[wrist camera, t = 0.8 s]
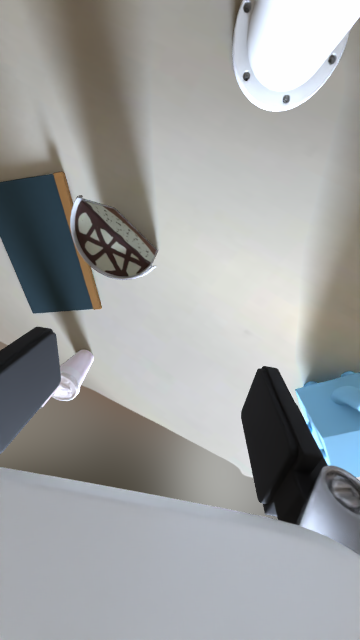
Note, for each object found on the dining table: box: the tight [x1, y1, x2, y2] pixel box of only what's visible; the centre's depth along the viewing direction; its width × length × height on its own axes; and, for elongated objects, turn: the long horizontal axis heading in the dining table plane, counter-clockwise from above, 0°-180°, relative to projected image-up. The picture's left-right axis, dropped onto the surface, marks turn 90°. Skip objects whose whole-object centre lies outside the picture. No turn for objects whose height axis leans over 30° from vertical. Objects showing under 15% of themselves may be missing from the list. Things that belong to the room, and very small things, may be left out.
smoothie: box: [40, 350, 94, 408], centre depth 41 cm, size 6×6×14 cm
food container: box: [70, 195, 158, 280], centre depth 32 cm, size 12×6×10 cm, turn 46°
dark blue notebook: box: [0, 172, 102, 313], centre depth 38 cm, size 22×14×1 cm, turn 6°
